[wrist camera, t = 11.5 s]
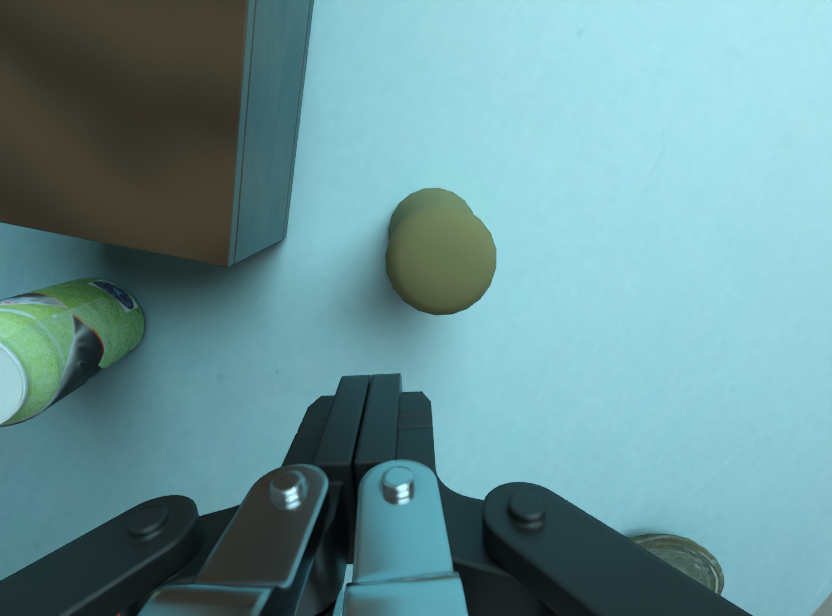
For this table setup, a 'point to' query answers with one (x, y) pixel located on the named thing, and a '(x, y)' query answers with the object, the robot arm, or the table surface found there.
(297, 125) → the cabinet
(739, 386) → the table surface
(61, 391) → the beverage can
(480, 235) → the cork
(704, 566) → the lid
